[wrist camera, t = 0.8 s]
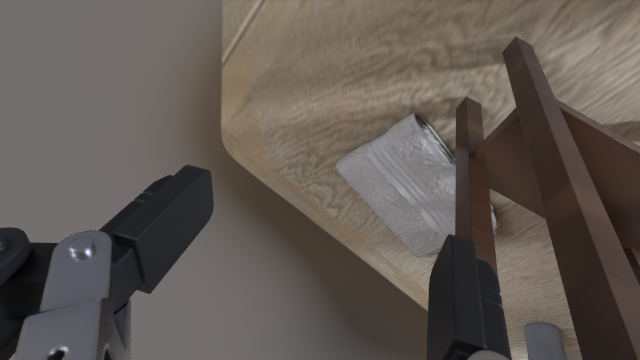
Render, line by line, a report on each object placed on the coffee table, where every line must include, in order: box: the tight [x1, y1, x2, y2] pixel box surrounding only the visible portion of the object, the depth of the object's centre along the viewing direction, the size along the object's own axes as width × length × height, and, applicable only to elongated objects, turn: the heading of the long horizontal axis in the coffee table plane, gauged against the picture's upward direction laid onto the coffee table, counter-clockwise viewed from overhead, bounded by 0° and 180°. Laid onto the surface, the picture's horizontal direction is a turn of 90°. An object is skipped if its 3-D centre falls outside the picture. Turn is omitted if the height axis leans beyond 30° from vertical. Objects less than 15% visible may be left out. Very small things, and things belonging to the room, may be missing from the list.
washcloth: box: [336, 113, 500, 257], centre depth 42 cm, size 12×18×3 cm, turn 44°
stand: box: [455, 37, 640, 360], centre depth 22 cm, size 8×16×32 cm, turn 66°
